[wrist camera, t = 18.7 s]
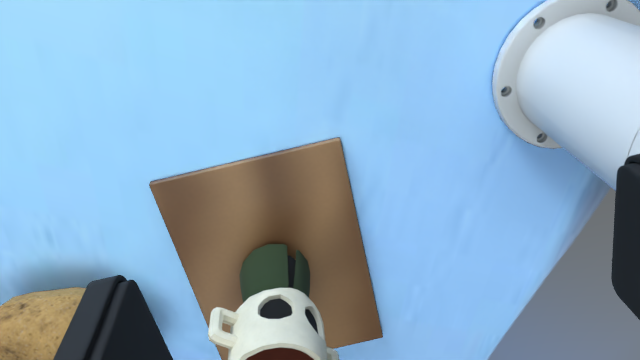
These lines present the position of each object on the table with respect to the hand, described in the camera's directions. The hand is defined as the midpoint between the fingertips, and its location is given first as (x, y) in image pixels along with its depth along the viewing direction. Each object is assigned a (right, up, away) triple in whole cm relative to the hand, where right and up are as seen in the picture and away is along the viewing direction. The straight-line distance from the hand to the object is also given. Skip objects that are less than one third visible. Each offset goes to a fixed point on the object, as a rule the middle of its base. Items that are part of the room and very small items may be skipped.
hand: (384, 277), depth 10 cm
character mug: (-5, -6, +38) cm, 39 cm away
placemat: (-5, -6, +39) cm, 40 cm away
